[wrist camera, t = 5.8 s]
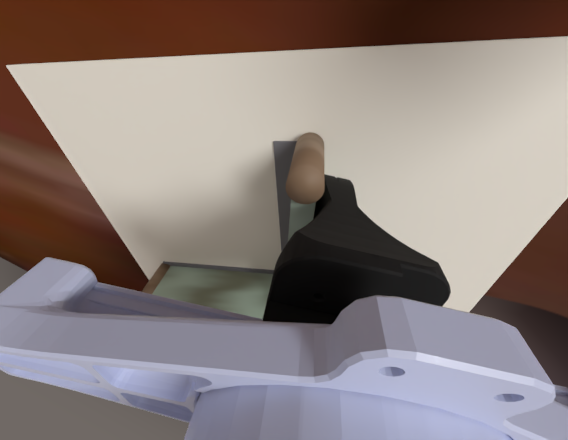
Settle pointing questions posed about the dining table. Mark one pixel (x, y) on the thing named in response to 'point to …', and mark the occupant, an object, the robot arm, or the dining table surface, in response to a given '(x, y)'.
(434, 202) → the board
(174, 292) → the fixed fence section
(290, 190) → the hinged fence section
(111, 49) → the dining table surface
